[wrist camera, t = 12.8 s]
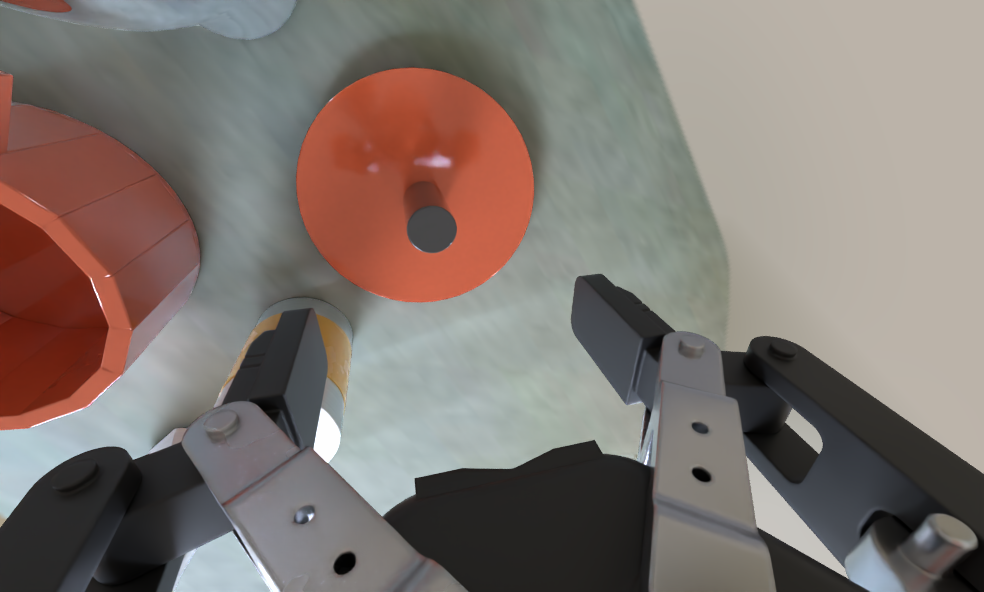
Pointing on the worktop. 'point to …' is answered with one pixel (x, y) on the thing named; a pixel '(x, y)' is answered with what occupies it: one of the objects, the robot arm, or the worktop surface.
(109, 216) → the pot
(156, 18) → the silver metal cup
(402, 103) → the lid
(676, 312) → the worktop surface
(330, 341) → the can
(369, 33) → the worktop surface
